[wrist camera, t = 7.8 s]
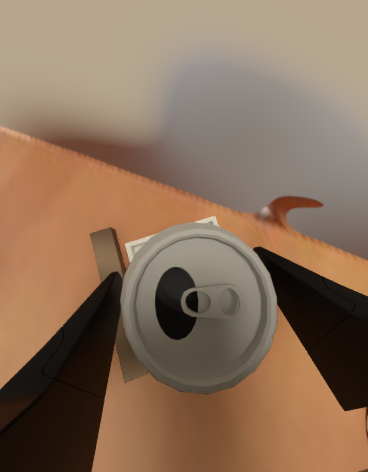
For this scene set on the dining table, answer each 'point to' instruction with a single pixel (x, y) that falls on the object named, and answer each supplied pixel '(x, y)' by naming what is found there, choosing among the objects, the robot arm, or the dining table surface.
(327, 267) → the dining table surface
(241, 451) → the dining table surface
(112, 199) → the dining table surface
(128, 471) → the dining table surface
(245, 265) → the can
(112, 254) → the strip
